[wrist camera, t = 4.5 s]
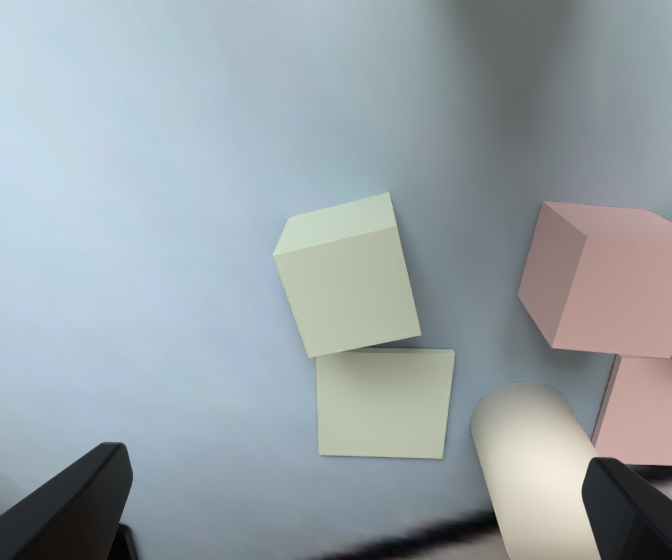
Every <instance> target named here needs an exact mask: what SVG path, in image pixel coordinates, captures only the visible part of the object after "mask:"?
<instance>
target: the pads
mask: <svg viewBox="0 0 672 560" xmlns="http://www.w3.org/2000/svg"><path fill="white" fill-rule="evenodd" d="M454 359H455V353H454V350H453V349H412V348H363V347H361V348H356V349H351V350H346V351H341V352H336V353H332V354H327V355H322V356H317V357H316V382H317V419H318V455H338V456H372V457H406V458H439V459H442V458H443V450H444V441H445V433H446V425H447V417H448V409H449V400H450V392H451V384H452V376H453V368H454ZM591 443H592V445H593V446H594V448H595V450H596V451H597V453H598V455H599V456H600V457H612V458H616V459H618V460H619V461H621V462H622V463H623V464H643V465H672V356H671V358H670V359H668V358H657V357H646V356H635V355H624V354H617V356H616V359H615V362H614V366H613V369H612V373H611V376H610V379H609V383H608V386H607V390H606V393H605V396H604V400H603V403H602V407H601V410H600V413H599V417H598V420H597V424H596V427H595V430H594V434H593V437H592V441H591Z"/></svg>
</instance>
